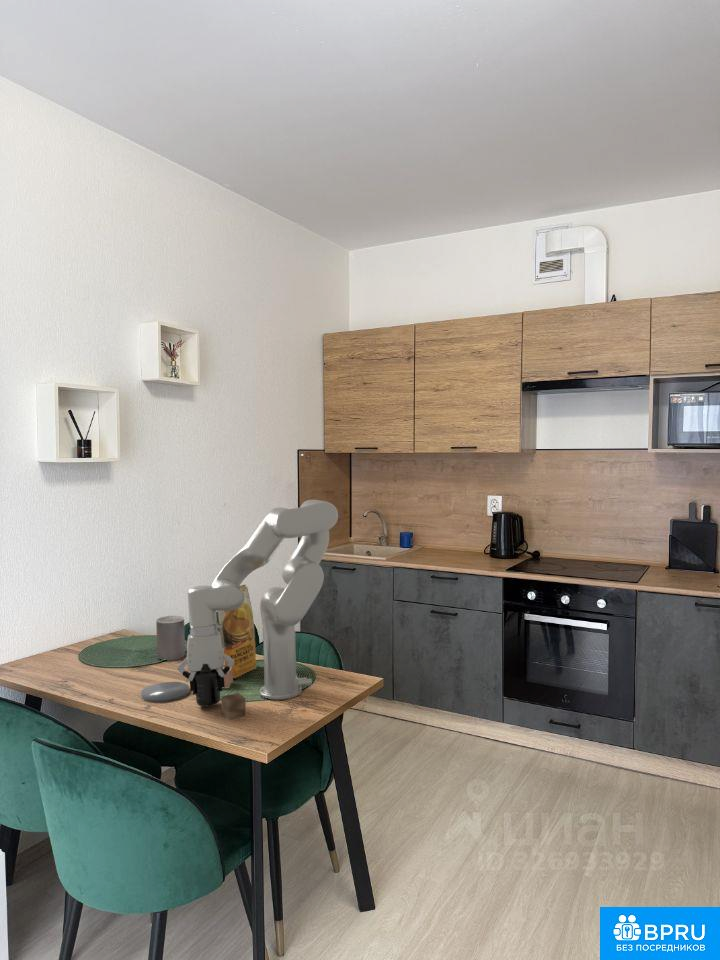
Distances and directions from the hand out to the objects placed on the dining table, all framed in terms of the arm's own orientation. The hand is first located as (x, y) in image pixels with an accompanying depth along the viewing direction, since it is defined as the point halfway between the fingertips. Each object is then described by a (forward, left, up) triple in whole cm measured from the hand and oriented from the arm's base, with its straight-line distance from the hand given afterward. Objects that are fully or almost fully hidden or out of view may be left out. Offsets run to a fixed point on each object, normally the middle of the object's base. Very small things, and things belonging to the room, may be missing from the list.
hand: (207, 690), depth 194 cm
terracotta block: (-4, -17, -5) cm, 18 cm away
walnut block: (-7, +8, -5) cm, 12 cm away
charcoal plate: (+13, -14, -4) cm, 19 cm away
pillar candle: (+14, -52, -5) cm, 54 cm away
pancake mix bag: (-9, -28, -5) cm, 30 cm away
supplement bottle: (0, 0, -4) cm, 4 cm away
